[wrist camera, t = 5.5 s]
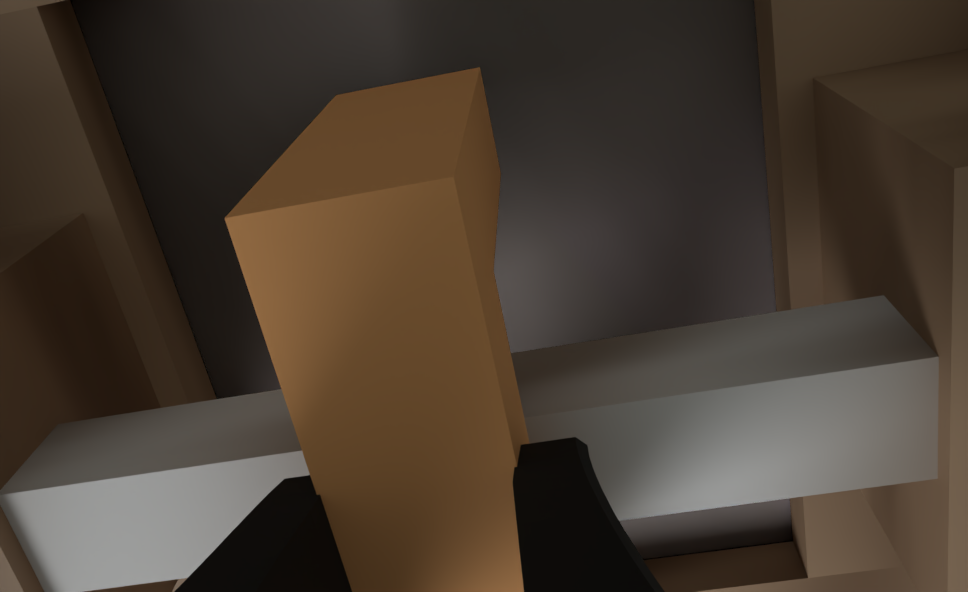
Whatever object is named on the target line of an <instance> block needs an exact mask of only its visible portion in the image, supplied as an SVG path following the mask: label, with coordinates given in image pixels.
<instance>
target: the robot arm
mask: <svg viewBox="0 0 968 592" xmlns="http://www.w3.org/2000/svg"><path fill="white" fill-rule="evenodd" d="M513 492H514V502H515V512H516V521H517V531H518V540H519V550H520V559H521V568H522V578H523V587H524V592H665V591H664V590H663V589H662V587H661V586H660V584H659V583H658V581H657V580H656V578H655V577H654V576H653V574H652V573H651V571H650V570H649V568H648V567H647V565H646V564H645V562H644V560H643V559H642V557H641V556H640V554H639V553H638V551H637V549H636V548H635V546H634V545H633V543H632V542H631V540H630V538H629V537H628V535H627V534H626V532H625V531H624V529H623V527H622V525H621V524H620V522H619V520H618V518H617V517H616V515H615V513H614V511H613V510H612V508H611V506H610V504H609V502H608V500H607V498H606V496H605V494H604V492H603V490H602V488H601V486H600V483H599V481H598V479H597V477H596V474H595V472H594V469H593V467H592V463H591V460H590V457H589V451H588V446H587V444H585V443H584V442H582V441H581V440H579V439H578V438H576V437H571V438H564V439H557V440H551V441H544V442H537V443H530V444H523V445H521V447H520V452H519V458H518V463H517V467H514V474H513ZM175 592H352V590H351V587H350V584H349V581H348V578H347V575H346V571H345V568H344V565H343V562H342V559H341V556H340V553H339V550H338V547H337V544H336V541H335V538H334V535H333V532H332V529H331V526H330V523H329V520H328V517H327V514H326V511H325V508H324V505H323V502H322V499H321V496H320V495H317V494H316V491H315V488H314V485H313V482H312V479H311V476H310V475H307V476H300V477H293V478H286V479H284V480H283V481H282V482H280V483H279V484H278V485H277V486H276V487H275V488H274V489H273V490H272V491H271V492H270V493H269V494H268V495H267V496H266V497H265V498H264V499H263V500H262V501H261V502H260V503H259V504H258V505H257V506H256V507H255V508H254V509H253V510H252V511H251V512H250V513H249V514H248V515H247V516H246V517H245V518H244V519H243V520H242V522H241V523H240V524H239V525H238V526H237V527H236V528H235V529H234V530H233V531H232V532H231V533H230V534H229V535H228V536H227V537H226V538H225V539H224V541H223V542H222V543H221V544H220V545H219V546H218V547H217V548H216V549H215V550H214V551H213V552H212V553H211V554H210V555H209V556H208V557H207V558H206V559H205V560H204V562H203V563H202V564H201V565H200V566H199V567H198V568H197V569H196V570H195V571H194V572H193V573H192V574H191V575H190V576H189V577H188V578H187V579H186V580H185V581H184V582H183V583H182V584H181V585H180V586H179V587H178V588H177V589H176V591H175Z"/></svg>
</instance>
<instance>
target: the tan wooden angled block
mask: <svg viewBox="0 0 968 592" xmlns="http://www.w3.org/2000/svg"><path fill="white" fill-rule="evenodd" d="M500 180H501V172H500V167H499V161H498V156H497V151H496V146H495V141H494V136H493V131H492V126H491V121H490V116H489V111H488V105H487V100H486V95H485V90H484V85H483V80H482V75H481V70H480V67H478V68H473V69H468V70H462V71H457V72H452V73H447V74H442V75H437V76H432V77H426V78H421V79H416V80H411V81H406V82H401V83H396V84H390V85H385V86H380V87H375V88H370V89H365V90H360V91H354V92H349V93H344V94H339V95H336V96H335V97H334V98H333V99H332V100H331V101H330V102H329V103H328V104H327V106H326V107H325V108H324V109H323V110H322V111H321V112H320V113H319V114H318V115H317V117H316V118H315V119H314V120H313V121H312V122H311V123H310V124H309V125H308V127H307V128H306V129H305V130H304V131H303V132H302V133H301V134H300V135H299V136H298V138H297V139H296V140H295V141H294V142H293V143H292V144H291V145H290V146H289V147H288V149H287V150H286V151H285V152H284V153H283V154H282V155H281V156H280V157H279V158H278V160H277V161H276V162H275V163H274V164H273V165H272V166H271V167H270V168H269V169H268V171H267V172H266V173H265V174H264V175H263V176H262V177H261V178H260V179H259V181H258V182H257V183H256V184H255V185H254V186H253V187H252V188H251V189H250V190H249V192H248V193H247V194H246V195H245V196H244V197H243V198H242V199H241V200H240V201H239V203H238V204H237V205H236V206H235V207H234V208H233V209H232V210H231V211H230V212H229V214H228V215H227V216H226V217H225V221H226V224H227V227H228V230H229V233H230V236H231V239H232V242H233V245H234V248H235V251H236V254H237V257H238V260H239V263H240V266H241V269H242V272H243V275H244V278H245V281H246V284H247V287H248V290H249V293H250V296H251V299H252V302H253V305H254V308H255V311H256V314H257V317H258V320H259V323H260V326H261V329H262V332H263V335H264V338H265V341H266V344H267V347H268V350H269V353H270V356H271V359H272V362H273V365H274V368H275V371H276V374H277V377H278V380H279V383H280V386H281V389H282V392H283V395H284V398H285V401H286V404H287V407H288V410H289V413H290V416H291V419H292V422H293V425H294V428H295V431H296V434H297V437H298V440H299V443H300V446H301V449H302V452H303V455H304V458H305V461H306V464H307V467H308V470H309V473H310V476H311V479H312V482H313V485H314V488H315V491H316V494H317V495H320V496H321V499H322V502H323V505H324V508H325V511H326V514H327V517H328V520H329V523H330V526H331V529H332V532H333V535H334V538H335V541H336V544H337V547H338V550H339V553H340V556H341V559H342V562H343V565H344V568H345V571H346V575H347V578H348V581H349V584H350V587H351V590H352V592H524V587H523V578H522V568H521V559H520V550H519V540H518V531H517V521H516V512H515V502H514V492H513V474H514V467H517V463H518V458H519V452H520V447H521V445H523V444H530V443H529V438H528V433H527V428H526V424H525V419H524V414H523V409H522V405H521V400H520V395H519V390H518V385H517V381H516V376H515V371H514V366H513V362H512V357H511V352H510V347H509V342H508V338H507V333H506V328H505V323H504V319H503V314H502V309H501V304H500V299H499V295H498V290H497V285H496V280H495V276H494V258H495V245H496V232H497V219H498V206H499V193H500Z"/></svg>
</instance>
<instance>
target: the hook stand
mask: <svg viewBox="0 0 968 592" xmlns="http://www.w3.org/2000/svg"><path fill="white" fill-rule="evenodd" d="M754 3H755V17H756V31H757V45H758V59H759V73H760V87H761V101H762V115H763V129H764V143H765V157H766V171H767V185H768V199H769V213H770V227H771V241H772V255H773V269H774V283H775V297H776V311H777V312H773V313H766V314H760V315H754V316H747V317H741V318H734V319H728V320H722V321H715V322H709V323H702V324H696V325H690V326H683V327H677V328H670V329H664V330H658V331H651V332H645V333H638V334H632V335H625V336H619V337H613V338H606V339H600V340H593V341H587V342H581V343H574V344H568V345H561V346H555V347H549V348H542V349H536V350H529V351H523V352H516V353H511V357H512V362H513V366H514V371H515V376H516V381H517V385H518V390H519V395H520V400H521V405H522V409H523V414H524V419H525V424H526V428H527V433H528V438H529V443H537V442H544V441H551V440H557V439H564V438H571V437H576V438H578V439H579V440H581V441H582V442H584V443H585V444H587V446H588V451H589V457H590V460H591V463H592V467H593V469H594V472H595V474H596V477H597V479H598V481H599V483H600V486H601V488H602V490H603V492H604V494H605V496H606V498H607V500H608V502H609V504H610V506H611V508H612V510H613V511H614V513H615V515H616V517H617V518H618V520H619V521H622V520H629V519H637V518H644V517H652V516H659V515H667V514H674V513H682V512H690V511H697V510H705V509H712V508H720V507H727V506H735V505H743V504H750V503H758V502H765V501H773V500H780V499H788V498H790V507H791V521H792V535H793V541H792V542H784V543H776V544H768V545H760V546H753V547H745V548H737V549H729V550H721V551H713V552H705V553H697V554H689V555H682V556H674V557H666V558H658V559H650V560H644V562H645V564H646V565H647V567H648V568H649V570H650V571H651V573H652V574H653V576H654V577H655V578H656V580H657V581H658V583H659V584H660V586H661V587H662V589H663V590H664V591H665V592H968V0H754ZM307 475H310V473H309V470H308V467H307V464H306V461H305V458H304V455H303V452H302V449H301V446H300V443H299V440H298V437H297V434H296V431H295V428H294V425H293V422H292V419H291V416H290V413H289V410H288V407H287V404H286V401H285V398H284V395H283V392H282V389H279V390H273V391H266V392H260V393H254V394H247V395H241V396H234V397H228V398H222V399H217V398H216V396H215V393H214V390H213V388H212V385H211V382H210V379H209V377H208V374H207V371H206V369H205V366H204V363H203V360H202V358H201V355H200V352H199V350H198V347H197V344H196V341H195V339H194V336H193V333H192V330H191V328H190V325H189V322H188V320H187V317H186V314H185V311H184V309H183V306H182V303H181V301H180V298H179V295H178V292H177V290H176V287H175V284H174V282H173V279H172V276H171V273H170V271H169V268H168V265H167V263H166V260H165V257H164V254H163V252H162V249H161V246H160V243H159V241H158V238H157V235H156V233H155V230H154V227H153V224H152V222H151V219H150V216H149V214H148V211H147V208H146V205H145V203H144V200H143V197H142V195H141V192H140V189H139V186H138V184H137V181H136V178H135V176H134V173H133V170H132V167H131V165H130V162H129V159H128V156H127V154H126V151H125V148H124V146H123V143H122V140H121V137H120V135H119V132H118V129H117V127H116V124H115V121H114V118H113V116H112V113H111V110H110V108H109V105H108V102H107V99H106V97H105V94H104V91H103V89H102V86H101V83H100V80H99V78H98V75H97V72H96V69H95V67H94V64H93V61H92V59H91V56H90V53H89V50H88V48H87V45H86V42H85V40H84V37H83V34H82V31H81V29H80V26H79V23H78V21H77V18H76V15H75V12H74V10H73V7H72V4H71V2H70V0H0V592H175V591H176V589H177V588H178V587H179V586H180V585H181V584H182V583H183V582H184V581H185V580H186V579H187V578H188V577H189V576H190V575H191V574H192V573H193V572H194V571H195V570H196V569H197V568H198V567H199V566H200V565H201V564H202V563H203V562H204V560H205V559H206V558H207V557H208V556H209V555H210V554H211V553H212V552H213V551H214V550H215V549H216V548H217V547H218V546H219V545H220V544H221V543H222V542H223V541H224V539H225V538H226V537H227V536H228V535H229V534H230V533H231V532H232V531H233V530H234V529H235V528H236V527H237V526H238V525H239V524H240V523H241V522H242V520H243V519H244V518H245V517H246V516H247V515H248V514H249V513H250V512H251V511H252V510H253V509H254V508H255V507H256V506H257V505H258V504H259V503H260V502H261V501H262V500H263V499H264V498H265V497H266V496H267V495H268V494H269V493H270V492H271V491H272V490H273V489H274V488H275V487H276V486H277V485H278V484H279V483H280V482H282V481H283V480H284V479H286V478H293V477H300V476H307Z"/></svg>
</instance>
